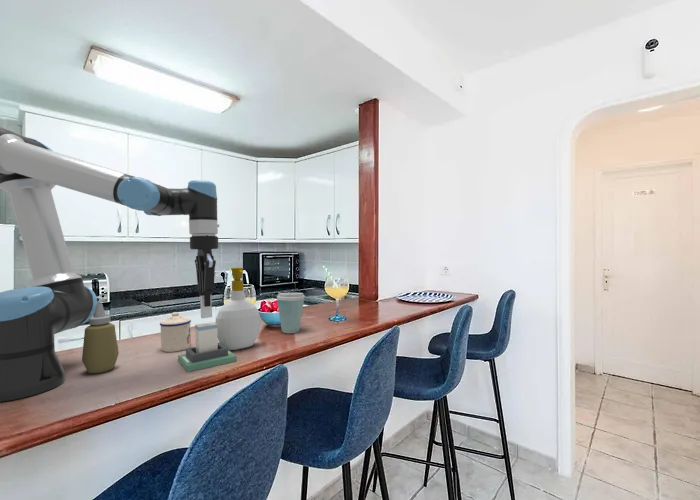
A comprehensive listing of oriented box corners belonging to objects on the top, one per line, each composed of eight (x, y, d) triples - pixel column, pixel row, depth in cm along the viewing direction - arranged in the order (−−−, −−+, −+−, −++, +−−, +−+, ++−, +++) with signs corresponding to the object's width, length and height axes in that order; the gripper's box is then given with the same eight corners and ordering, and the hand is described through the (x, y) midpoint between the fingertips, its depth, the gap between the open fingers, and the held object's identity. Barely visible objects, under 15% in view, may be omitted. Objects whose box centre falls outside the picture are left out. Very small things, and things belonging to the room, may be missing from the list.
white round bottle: (219, 355, 103) (218, 269, 102) (212, 348, 110) (210, 267, 110) (265, 347, 111) (264, 266, 111) (256, 341, 118) (254, 265, 118)
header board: (187, 372, 90) (187, 358, 90) (178, 360, 100) (177, 348, 100) (236, 361, 98) (236, 348, 98) (223, 351, 108) (223, 340, 107)
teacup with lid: (194, 348, 111) (193, 312, 111) (163, 354, 105) (162, 316, 105) (185, 340, 120) (185, 307, 120) (156, 345, 115) (155, 311, 115)
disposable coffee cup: (277, 328, 135) (276, 291, 135) (305, 327, 137) (304, 289, 137) (276, 335, 125) (275, 294, 124) (306, 334, 127) (305, 293, 126)
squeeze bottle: (81, 369, 93) (79, 303, 93) (117, 362, 98) (115, 300, 98) (82, 378, 87) (80, 307, 87) (120, 370, 92) (119, 303, 92)
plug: (199, 359, 96) (198, 327, 95) (195, 355, 99) (194, 324, 99) (219, 355, 99) (218, 324, 99) (215, 351, 102) (214, 321, 102)
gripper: (224, 234, 95) (227, 319, 96) (211, 236, 106) (213, 312, 106) (195, 234, 91) (198, 323, 91) (184, 236, 101) (187, 315, 102)
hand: (206, 317), depth 99 cm, fingers closed
